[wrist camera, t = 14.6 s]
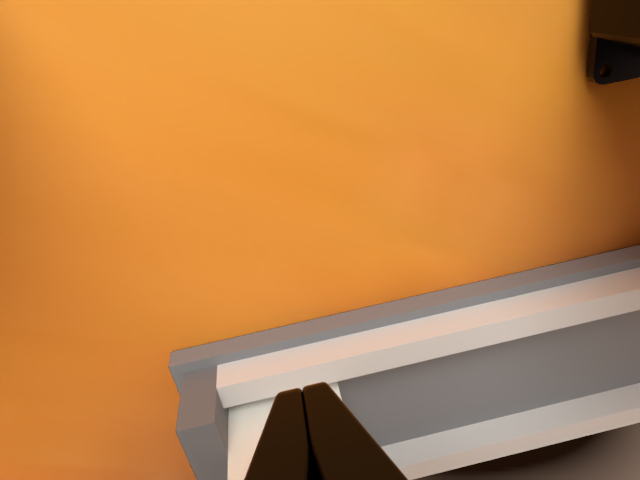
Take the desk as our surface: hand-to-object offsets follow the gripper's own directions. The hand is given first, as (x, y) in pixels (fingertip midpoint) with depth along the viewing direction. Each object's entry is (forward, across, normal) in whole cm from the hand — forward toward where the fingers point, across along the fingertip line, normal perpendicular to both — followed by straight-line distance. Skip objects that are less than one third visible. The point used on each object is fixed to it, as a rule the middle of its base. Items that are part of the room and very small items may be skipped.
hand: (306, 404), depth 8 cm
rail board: (+12, -7, +12) cm, 19 cm away
